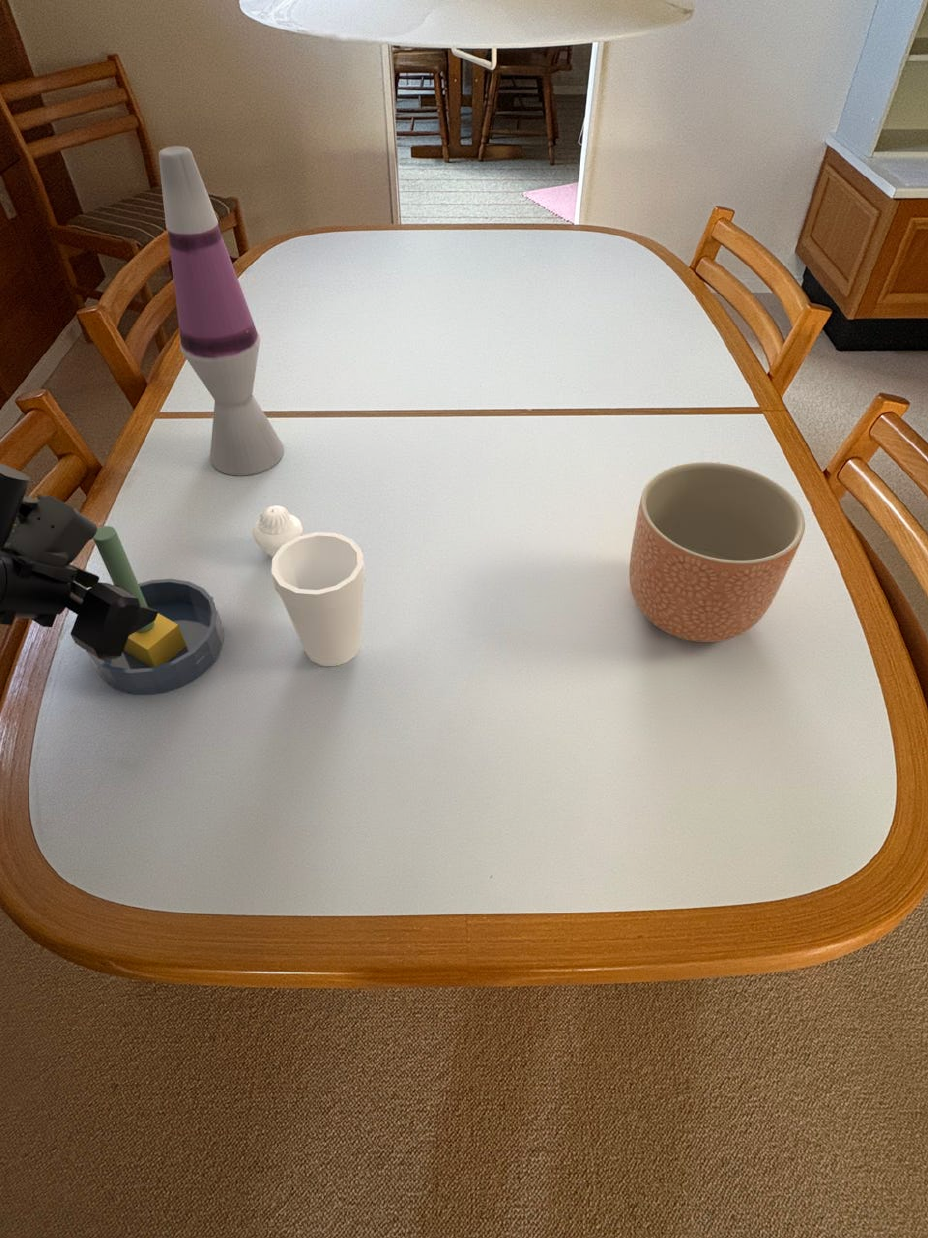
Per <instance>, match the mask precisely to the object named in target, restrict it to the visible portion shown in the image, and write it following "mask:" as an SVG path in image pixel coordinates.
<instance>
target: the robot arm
mask: <svg viewBox="0 0 928 1238" xmlns="http://www.w3.org/2000/svg"><path fill="white" fill-rule="evenodd" d="M30 481H31V478H30V476H28V475H27V474H25V473H24V472H22V471H20V470H17V469H15V468H13V467H11V466H8V465H6V464H4V463H1V462H0V625H5V626H8V625H9V626H13V623H14V620H15V618H17V619H30V620H31V621H33V622H34V623H36V624H38V625H39V626H41V627H42V628H53V627H54V623H55V621H56V618H57V616H58V615H61V614H63V612H64V611H65V609H68V610H69V611H71V612H72V613H74V614H76V615H77V616H76V619H75V620H74V623H73V626H72V629H71V632H70V636H71V638H72V639H73V642H74V644H76V645H77V646H79V647H80V648H82V650H85V652H86V651H88V652H89V653H91V654H93V655H94V656H96V657H97V658H99V659H116V658H118V657H120V656H121V655H122V653H123V650H124V647H125V645H126V642H127V640H128V637H129V636H130V635H131V634H133V633H135V632H136V631H138V630H140V629H141V628H143V627H145V626H147V625H148V624H150V623H152V622H154V621H155V619H156V617H157V614H158V611H156V610H154V609H151V608H148V607H145V606H142V605H140V602H139V598H137V597H136V596H134V595H133V594H132V593H130V592H128V591H126V590H125V589H123V588H121V587H120V586H118V585H115V586H114V584H111V583H108V582H101V581H100V576H98V575H97V574H95V573H92V572H90V571H88V570H85V569H82V568H80V567H78V566H75V565H74V564H72V563H73V562H74V561H75V560H76V558H77V557H78V556H79V554H81V552H82V550H83V549H84V548H85V546H86V545H87V543H89V541H90V540H93V537H94V536H95V534H96V532H97V529H98V526H97V524H96V523H95V522H93V521H92V520H91V519H89V518H88V517H87V516H85V514H84V515H83V514H82V513H81V512H80V511H79V510H77V509H75V508H74V507H73V506H71V505H69V504H68V503H65V502H64V501H62V500H60V499H58V498H56V497H55V496H52V495H42V494H40V493H37V494H36V496H35V498H34V497H32V496H26V492H27V490H28V487H29V485H30Z"/></svg>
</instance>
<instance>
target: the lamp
mask: <svg viewBox="0 0 928 1238" xmlns="http://www.w3.org/2000/svg"><path fill="white" fill-rule="evenodd" d="M193 154H194V153H193V152H192V150H191V149H190V148H189V147H187V146H181V145H173V146H167V147H165V148H162V149H161V150H159V152H158V162H159V163H158V164H159V173H160V180H161V181H160V182H161V191H162V201H163V202H162V203H163V211H164V220H165V228H166V230H167V234H168V235H167V237H168V244H169V253H170V261H171V270H172V277H173V279H172V280H173V289H174V298H175V304H176V305H175V306H176V313H177V323H178V330H179V331H178V332H179V339H180V344H179V350H180V352H181V353H182V355H183V356H184V358H185V359H186V361H187V362H188V363H189V365H190V366H191V368H192V369H193V371H194V372H195V374H196V376H197V377H198V378H199V380H200V381H201V382H202V384H203V385H204V387H205V388H206V390H207V391H208V393H209V394H210V396H211V397H212V398H213V401H214V405H213V406H214V407H213V417H212V426H211V428H212V429H211V439H210V449H209V450H210V451H209V461H210V464H211V465H212V466H213V468H214V469H216V470H217V471H218V472H221V473H224V474H225V475H231V476H238V477H239V476H240V477H241V476H251V475H256V474H261V473H263V472H266V471H268V470H269V469H272V468H273V467H274V466H276V465H277V464H278V463H279V462H280V461H281V459H282V458H283V455H284V452H285V447H284V444H283V442H282V440H281V439H280V437H279V436H278V434H277V432H276V431H275V429H274V427H273V426H272V424H271V423H270V421H269V419H268V417H267V416H266V414H265V413H264V411H263V409H262V408H261V406H260V405H259V403H258V400H257V399H256V397H255V396H254V395H253V393H254V386H255V379H256V373H257V372H256V371H257V366H258V359H259V351H260V345H261V344H260V343H261V336H260V333H259V332H258V330H257V327H256V325H255V322H254V320H253V316H252V314H251V311H250V308H249V305H248V303H247V300H246V298H245V295H244V292H243V289H242V287H241V284H240V281H239V278H238V276H237V273H236V271H235V267H234V265H233V262H232V259H231V257H230V254H229V251H228V248H227V246H226V243H225V241H224V238H223V235H222V232H221V230H220V227H219V220H218V218H217V216H216V213H215V210H214V208H213V204H212V201H211V200H210V197H209V194H208V191H207V189H206V186H205V183H204V181H203V178H202V175H201V173H200V170H199V168H198V165H197V162H196V160H195V157H194V155H193Z"/></svg>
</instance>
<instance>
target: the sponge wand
mask: <svg viewBox="0 0 928 1238" xmlns="http://www.w3.org/2000/svg"><path fill="white" fill-rule="evenodd" d="M92 540H93V541H94V543H95V546H96V548H97V551H98V553H99V555H100V557H101V560H102V561H103V564H104V566H105V568H106V570H107V572H108V575H109V577H110V579H111V581H112V585H114V586H115V585H118V586H120V587H121V588H123V589H125V590H126V591H128V592H130V593H132V594H133V595H134V596H136V597H137V598H139V602H140V605H142V606H145V607H148V606H147V604H146V601H145V599H144V596H143V594H142V592H141V589H140V587H139V585H138V584H139V582H138V580H137V577H136V576H135V573H134V570H133V568H132V566H131V563H130V561H129V558H128V556H127V554H126V552H125V549H124V546H123V545H122V542H121V539H120V537H119V535H118V533H117V530H116V528H115V527H113V526H111V525H105V526H104V525H103V526H100V527H97V532H96V534H95V536H94V537H93V538H92ZM148 608H149V607H148ZM185 647H186V644H185V641H184V639H183V636H182V633H181V631H180V628H179V626H178V625H177V624H176V623H174V622H172V621H171V620H169V619H167V618H166V617H164V616H162V615H160V614H159V613H158V614H157V617H156V619H155V621H154V622H152V623H150V624H148V625H147V626H145V627H143V628H141V629H140V630H138V631H136V632H135V633H133V634H131V635H130V636H129V637H128V640H127V642H126V645H125V647H124V651H126V652H128V653H129V654H131V655H132V656H134V657H135V658H137V659H139V660H140V661H142V662H143V663H145V664H147V665H148V666H150V667H151V668H152V667H155V666H159V665H162V664H165V663H167V662H168V661H169V660H170V659H172V658H173V657H174V656H175V655H176V654H178V653H179V652H180V651H181V650H182V649H184V648H185Z"/></svg>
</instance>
